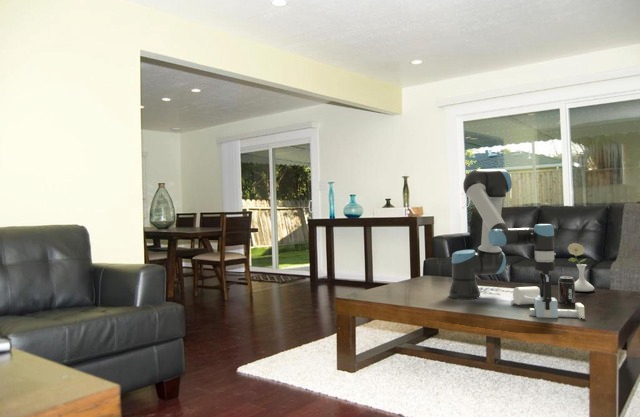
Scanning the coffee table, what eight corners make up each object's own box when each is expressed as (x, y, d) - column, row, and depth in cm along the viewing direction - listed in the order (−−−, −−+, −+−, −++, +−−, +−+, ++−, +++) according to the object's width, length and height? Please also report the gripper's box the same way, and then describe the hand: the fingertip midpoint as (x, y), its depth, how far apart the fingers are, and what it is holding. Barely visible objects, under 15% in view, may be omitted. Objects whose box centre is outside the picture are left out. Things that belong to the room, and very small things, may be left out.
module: (536, 317, 206) (536, 298, 206) (534, 313, 213) (534, 295, 213) (557, 317, 204) (557, 299, 204) (554, 313, 211) (554, 296, 211)
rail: (531, 316, 207) (531, 304, 207) (529, 313, 214) (529, 301, 214) (584, 318, 201) (584, 306, 201) (580, 314, 208) (580, 303, 208)
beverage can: (576, 304, 228) (575, 278, 227) (559, 304, 230) (559, 278, 230) (574, 301, 234) (573, 276, 234) (558, 301, 236) (557, 275, 236)
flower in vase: (598, 291, 257) (597, 243, 257) (587, 294, 251) (586, 244, 250) (573, 288, 268) (573, 241, 267) (562, 290, 261) (561, 243, 261)
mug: (512, 302, 236) (512, 286, 236) (533, 301, 236) (532, 285, 236) (525, 308, 224) (525, 290, 224) (546, 307, 225) (546, 289, 224)
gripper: (558, 263, 198) (559, 321, 198) (550, 258, 217) (551, 310, 217) (538, 263, 200) (539, 320, 200) (531, 258, 219) (533, 309, 220)
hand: (545, 315), depth 209 cm, fingers closed on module, 7 cm apart
